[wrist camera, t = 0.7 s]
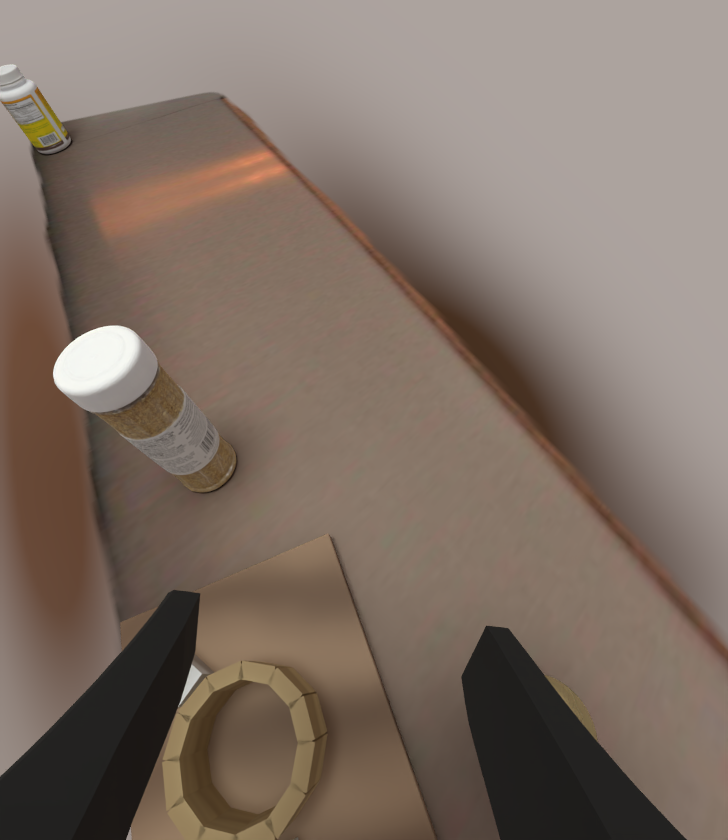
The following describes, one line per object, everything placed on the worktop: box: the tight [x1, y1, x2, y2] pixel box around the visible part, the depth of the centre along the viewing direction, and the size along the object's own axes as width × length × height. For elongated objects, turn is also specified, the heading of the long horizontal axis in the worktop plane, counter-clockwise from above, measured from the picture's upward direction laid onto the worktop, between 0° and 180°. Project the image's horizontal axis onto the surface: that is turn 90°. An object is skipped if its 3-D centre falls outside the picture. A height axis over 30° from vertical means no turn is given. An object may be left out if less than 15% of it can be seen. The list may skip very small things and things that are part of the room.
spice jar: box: [53, 326, 236, 492], centre depth 26 cm, size 5×5×13 cm
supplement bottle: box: [0, 64, 71, 154], centre depth 63 cm, size 6×6×10 cm
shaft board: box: [120, 534, 438, 840], centre depth 21 cm, size 18×14×4 cm
